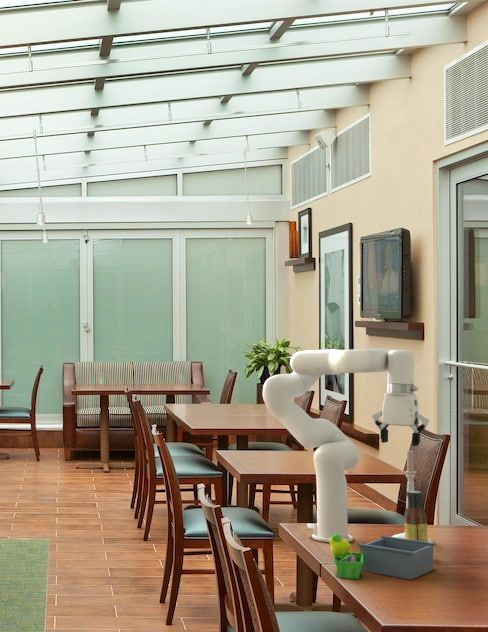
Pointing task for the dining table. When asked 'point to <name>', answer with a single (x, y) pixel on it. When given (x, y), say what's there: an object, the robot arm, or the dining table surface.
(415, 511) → the sauce bottle
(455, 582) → the dining table surface
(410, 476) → the candlestick
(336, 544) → the fruit basket
